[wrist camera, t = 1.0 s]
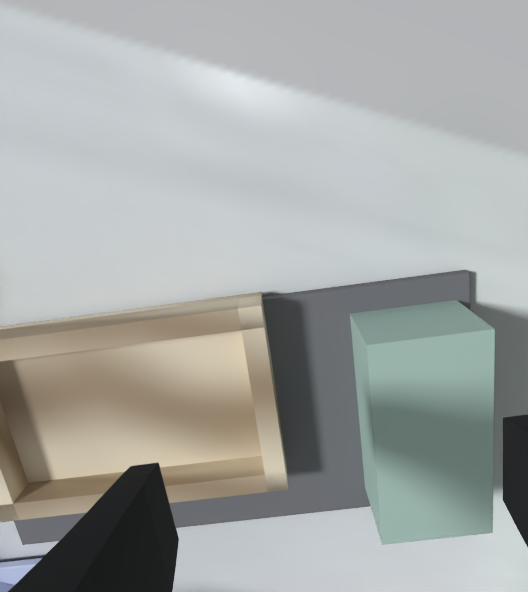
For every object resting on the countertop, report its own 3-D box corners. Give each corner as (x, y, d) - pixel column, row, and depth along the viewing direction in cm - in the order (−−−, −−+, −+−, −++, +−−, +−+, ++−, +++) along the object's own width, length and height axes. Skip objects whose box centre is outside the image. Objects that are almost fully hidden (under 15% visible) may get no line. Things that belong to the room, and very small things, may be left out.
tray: (286, 463, 19) (288, 489, 18) (20, 493, 20) (-1, 522, 18) (261, 291, 17) (261, 305, 16) (-38, 331, 18) (-67, 348, 16)
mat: (467, 488, 20) (470, 495, 20) (27, 537, 21) (22, 544, 21) (465, 269, 17) (469, 272, 17) (-46, 337, 18) (-53, 340, 18)
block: (458, 477, 19) (492, 532, 17) (365, 487, 20) (382, 544, 17) (456, 299, 17) (494, 329, 14) (349, 313, 17) (366, 345, 14)
